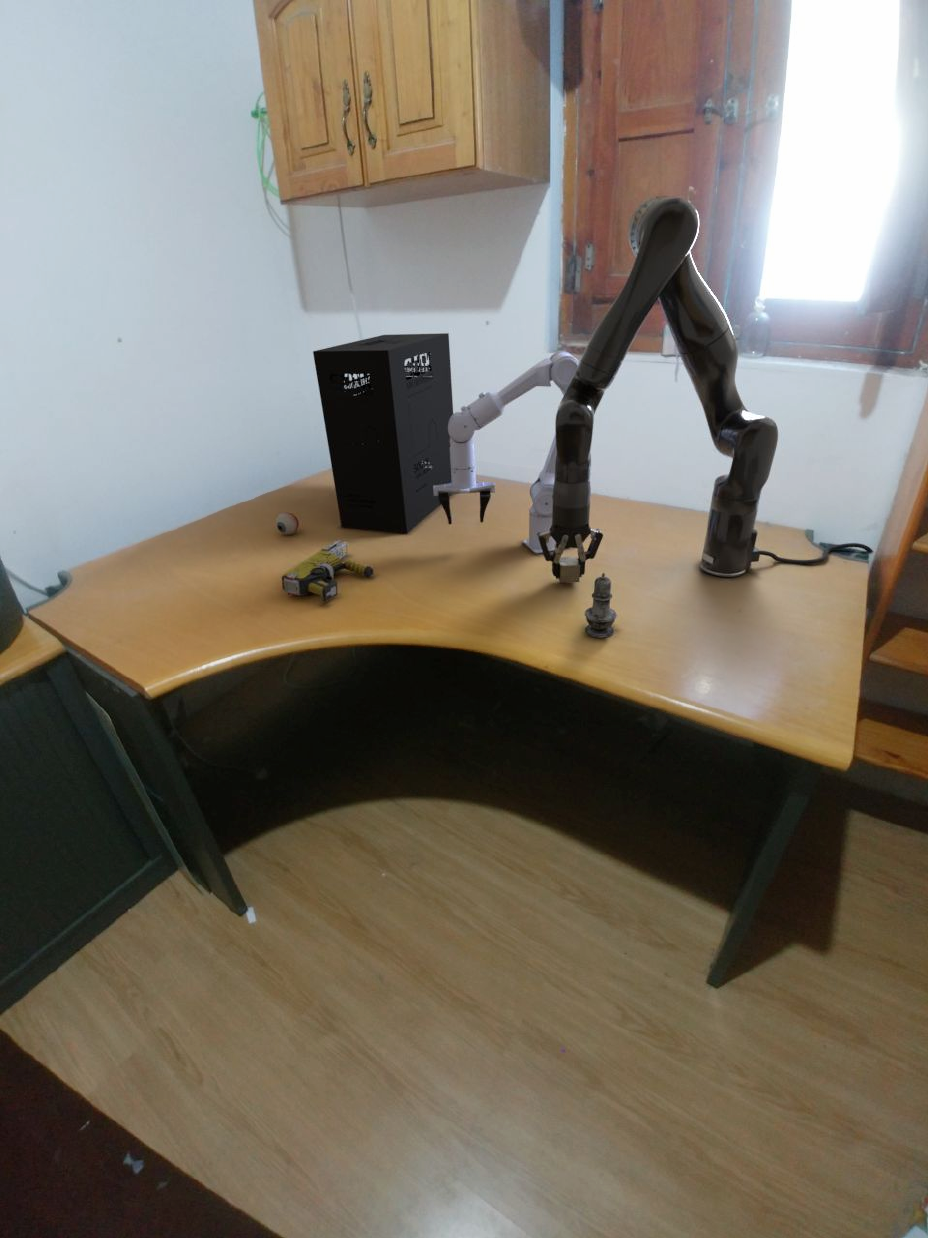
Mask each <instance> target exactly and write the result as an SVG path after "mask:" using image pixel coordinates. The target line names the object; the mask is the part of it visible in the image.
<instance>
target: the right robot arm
mask: <svg viewBox="0 0 928 1238" xmlns="http://www.w3.org/2000/svg"><path fill="white" fill-rule="evenodd" d="M699 228H700V218H699V213H698V211H697V208H696V206H695V205H694V204H693V203H692V202H691V201H689V200H688V199H686V198H684V197H679V196H671V195H670V196H669V195H656V196H652V197H648V198H646V199H645V200H643V201H642V202H641V203H639V205H638V206H636V208H635V209H634V211H633V212H632V214H631V218H630V221H629V224H628V233H627V234H628V242H629V246H630V248H631V251H632V253H633V255H634V256H635V259H634V263H633V265H632V267H631V270H630V273H629V275H628V276H627V279H626V281H625V283H624V285H623V286H622V288H621V291H620V292H619V294H618V296H617V297H616V298H615V300H614V302H613V303H612V304H611V306H610V307H609V308H608V309H607V311H606V312H605V313H604V315H603V317H602V318H601V319H600V321H599V322H598V324H597V326H596V327H595V329H594V331H593V332H592V334H591V336H590V338H589V340H588V342H587V345H586V347H585V348H584V350H583V353H582V356H581V358H580V360H579V365H578V367H577V370H576V374H575V376H574V378H573V379H572V381H571V383H570V385H569V387H568V388H567V390H566V392H565V394H564V395H562V398H561V400H560V403H559V404H558V407H557V411H556V414H555V424H554V425H555V427H554V428H555V429H554V430H555V433H556V458H555V479H554V486H553V495H552V499H553V508H552V526H551V528H550V530H549V531H547V532H544V533H542V532H538V534H537V536H538V539H539V542H540V545H541V548H542V551H543V553H542V554H543V557H544V559H545V561H546V562H551V573H552V575H553V577H555V579H557V580H559V575H560V562H559V561H560V558H561V557H562V555H563V553H564V552H565V550H566V549H570V548H571V549H576V552H577V556H578V557H577V559H578V561H579V563H580V578H582V577H583V576H584V575H585V573H586V562H587V561H588V560H589V559H590V560H593V559H595V558H596V555H597V553H598V550H599V547H600V545H601V543H602V540H603V538H604V533H603V532H602V530H601V529H600V528H596V529H593V528H591V527H590V515H591V514H590V513H591V512H590V511H591V510H590V509H591V498H592V497H591V496H592V494H591V493H592V485H591V475H592V473H591V471H592V453H591V449H592V442H593V434H594V422H595V414H596V412H597V409H598V408H599V405H600V403H601V401H602V398H604V395H605V393H606V391H607V390H608V389H609V388H610V386H611V385H612V383H613V382H614V380H615V379H616V376H617V374H618V372H619V370H620V368H621V366H622V364H623V362H624V361H625V358H626V357H627V355H628V352H629V350H630V349H631V346H632V344H633V342H634V340H635V338H636V336H637V334H638V333H639V331H640V329H641V328H642V326H643V324H644V322H645V320H646V318H647V317H648V315H649V314H650V312H651V310H652V309H653V307H654V305H655V304H656V302H657V301H659V304H660V307H661V310H662V312H663V316H664V318H665V322H666V324H667V326H668V329H669V332H670V334H671V337H672V339H673V342H674V345H675V348H676V350H677V352H678V355H679V357H680V359H681V361H682V364H683V366H684V368H685V371H686V373H687V375H688V377H689V379H690V381H691V384H692V386H693V389H694V391H695V393H696V395H697V397H698V400H699V402H700V404H701V407H702V409H703V413H704V416H705V419H706V420H705V421H706V423H707V428H708V430H709V433H710V437H711V440H712V443H713V445H714V448H715V449H716V450H717V452H718V453H719V454H721V456H724V457H726V458H729V459H731V460H732V461H731V465H730V468H729V472H728V473H727V474H722V475H719V476H717V477H716V478H715V480H714V482H713V487H712V492H711V499H710V505H709V512H708V517H707V525H706V531H705V537H704V544H703V549H702V553H701V561H700V564H699V565H700V570H702V571H703V572H705V573H706V574H709V575H712V576H716V577H720V578H735V577H736V578H737V577H740V576H742V575H744V574H745V573H750V571H751V565H752V563H756V562H759V561H760V556H765V557H770V558H772V560H774V561H775V562H779V563H785V564H793V565H815V564H819V563H823V562H824V561H826V560H827V559H828V556H829V552H832V551H834V550H840V549H846V548H860V549H863V550H865V551H866V552H867V553H871V554H872V553H874V550H873V549H872V548H871V547H870V546H868V545H866V544H864V543H859V542H848V543H840V544H835V545H830V546H827V547H826V548H824V550H823V553H822V556H821V557H817V558H814V559H791V558H785V557H780V556H778V555H777V554H775V553H774V552H771V551H767V550H761V549H759V548H757V547H756V542H757V537H758V531H757V529H755V525H756V520H757V515H758V509H759V505H760V501H761V495H762V490H763V489H764V487H765V485H766V483H767V482H768V480H769V477H770V474H771V470H772V467H773V466H772V465H773V463H774V458H775V455H776V451H777V446H778V441H779V429H778V425H777V423H776V422H775V420H773V419H772V418H770V417H768V416H766V415H761V414H758V413H755V412H751V411H749V410H748V409H747V408H746V406H745V404H744V403H743V400H742V399H741V397H740V393H739V391H738V388H737V385H736V373H737V368H738V359H739V351H738V350H739V349H738V344H737V339H736V337H735V334H734V332H733V329H732V327H731V323H730V321H729V319H728V317H727V314H726V312H725V310H724V309H723V307H722V305H721V303H720V302H719V301H718V299H717V297H716V296H715V295H714V293H713V292H712V291H711V289H710V288H709V286H708V285H707V283H706V282H705V281H704V279H703V278H702V276H701V275H700V273H699V272H698V270H697V267H696V265H695V262H694V260H693V257H692V253H691V249H692V248H693V246H694V244H695V242H696V239H697V237H698V234H699ZM555 433H554V434H555ZM550 536H551V537H552V538H553V539H554V540H555V542H556V544H555V547H554V550H553V552H552V553H551V552H550V551H549V550H548V547H547V544H546V543H548V542H549V537H550ZM589 536H590V539H591V540H590V542H589V545H588V547H587V550H586V551H585V547H584V544H583V543H584V542H585V541H586V540H587V538H588V537H589Z"/></svg>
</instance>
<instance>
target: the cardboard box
mask: <svg viewBox="0 0 928 1238" xmlns="http://www.w3.org/2000/svg"><path fill="white" fill-rule="evenodd" d="M450 351H451V350H450V334H449V332H447V333H445V332H444V333H443V332H442V333H441V332H440V333H407V334H406V333H405V334H403V333H401V334H398V333H397V334H381V335H377V336H372V337H369V338H364V339H361V340H356V341H352V342H347V343H343V344H338V345H335V346H330V347H326V348H321V349H317V350H313V351H312V355H313V360H314V366H315V372H316V379H317V386H318V391H319V397H320V404H321V410H322V415H323V416H322V417H323V422H324V428H325V433H326V441H327V447H328V452H329V458H330V466H331V471H332V472H331V473H332V477H333V483H334V489H335V495H336V501H337V502H336V503H337V509H338V514H339V520H340V527H341V528H347V529H348V528H349V529H358V530H359V529H360V530H370V531H378V532H379V531H380V532H389V533H402V534H408V533H410V531H412V530H413V529H414V528H415V527H416V526H418V525H419V524H420V523H421V522H422V521H423V520H424V519H426V518H427V517H428V516H429V515H430V514H431V513H432V512H433V511H435V510H436V509H437V508H439V506H440V505H441V503H440V501H439V496H434V491H433V486H435V485H443V484H449V483H452V479H451V464H450V441H449V440H450V435H449V433H448V423H449V419H450V417H451V416H452V415H453V414H454V404H453V403H454V401H453V400H454V399H453V387H452V367H451V352H450ZM421 355H422V356H421ZM415 357H416V360H415ZM409 359H410V360H409ZM406 360H407V362H406ZM427 361H428V363H427ZM405 363H406V364H405ZM426 363H427V365H426ZM422 364H423V365H422ZM354 375H356V378H355V377H354ZM361 375H363V376H361ZM350 377H351V380H350ZM452 495H453V494H449V497H451V496H452Z"/></svg>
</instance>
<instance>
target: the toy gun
mask: <svg viewBox="0 0 928 1238" xmlns="http://www.w3.org/2000/svg"><path fill="white" fill-rule="evenodd" d="M345 548H348V543H347V542H346V541H343V540H342V541H341V540H339V539H338V540H335V541H334V542H333V543H331V544H330V545H327V546H326V547H325V548H321V549H320V550H318V551H317V552H316V553H314V554H312V555H311V556H310V557H307V559H305V560H304V561H302V562H300V563H299V564H298V565H296V566H294V567H293V568H291V569H290V570H288V571H287V572H285V573H284V574H282V576H281V585H282V586H281V587H282V590H283V591H284V592H285V593H287V596H292V597H295V596H302V597H303V596H307V595H310V594H315V595H318V596H320V597H322V601H323V602H325V603H327V602H328V601H330V600H332V599H333V598H335V597H337V596H338V594H339V593H338V582H337V581H336V580H334V578H335V577H334V575H336V574H337V573H340V572H342V571H343V570H346V571H349V572H353V573H355V574H358V575H361V576H364V577H366V578H370V577H372V576H373V575H374V569H373V567H372V566H370V565H365V564H361V563H359V562H357V561H352V560H349V559H347V560H345V561H344V562H342V560H343V558H344V557H347V556H348V554H349V553H348V549H346V552H344V549H345Z"/></svg>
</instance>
